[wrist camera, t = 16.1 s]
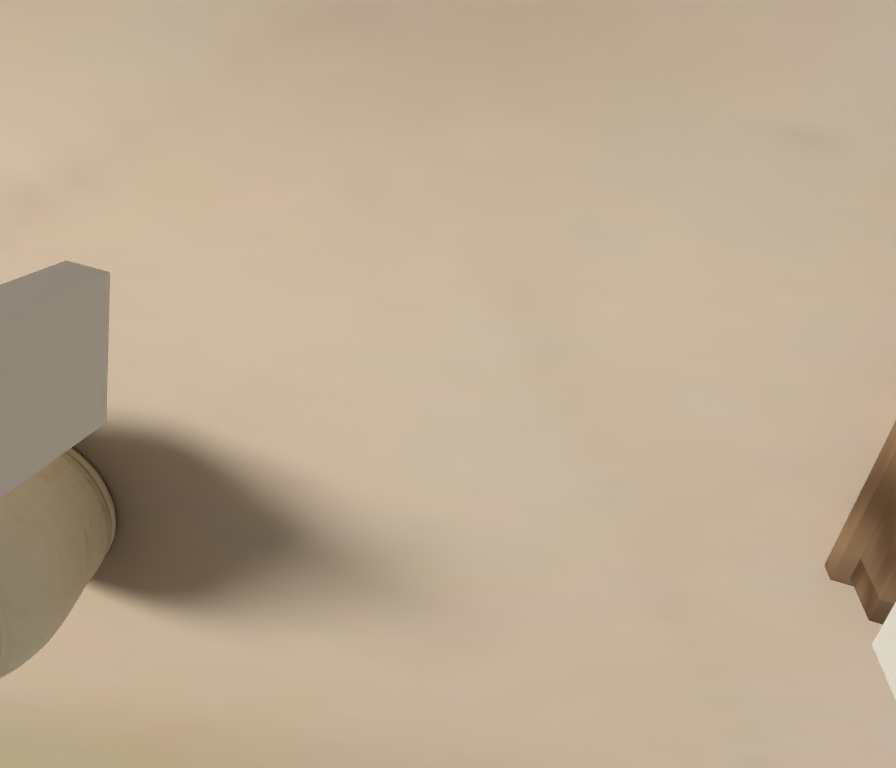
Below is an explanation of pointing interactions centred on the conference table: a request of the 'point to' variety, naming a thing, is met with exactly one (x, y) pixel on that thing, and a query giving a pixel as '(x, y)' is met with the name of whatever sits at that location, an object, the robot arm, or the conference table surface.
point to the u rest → (871, 539)
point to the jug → (49, 551)
